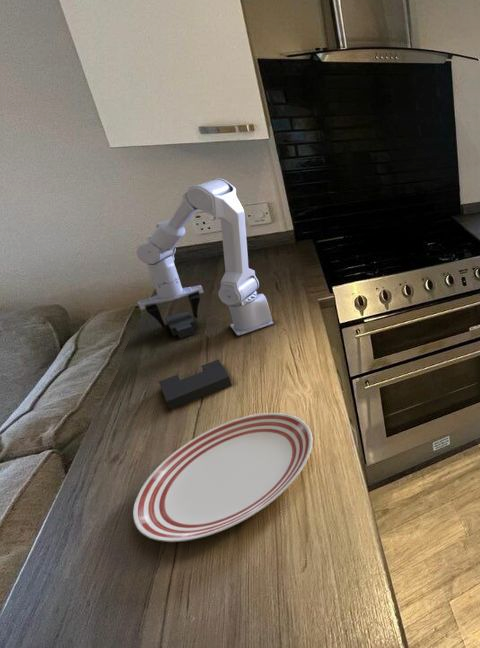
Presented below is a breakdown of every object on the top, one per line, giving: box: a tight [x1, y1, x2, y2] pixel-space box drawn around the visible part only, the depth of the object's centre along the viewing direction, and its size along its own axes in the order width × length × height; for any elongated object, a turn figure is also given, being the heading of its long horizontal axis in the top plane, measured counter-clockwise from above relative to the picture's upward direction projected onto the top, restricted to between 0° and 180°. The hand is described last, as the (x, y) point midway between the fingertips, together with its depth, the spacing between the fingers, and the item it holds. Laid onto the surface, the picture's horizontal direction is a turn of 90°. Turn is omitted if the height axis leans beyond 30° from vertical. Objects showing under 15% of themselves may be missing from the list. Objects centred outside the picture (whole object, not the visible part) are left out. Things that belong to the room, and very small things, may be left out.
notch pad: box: [158, 359, 233, 411], centre depth 105 cm, size 12×10×2 cm
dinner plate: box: [132, 412, 314, 543], centre depth 81 cm, size 28×27×3 cm
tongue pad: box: [164, 310, 197, 339], centre depth 129 cm, size 5×12×3 cm, turn 47°
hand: (179, 321), depth 130 cm, fingers open, 7 cm apart
